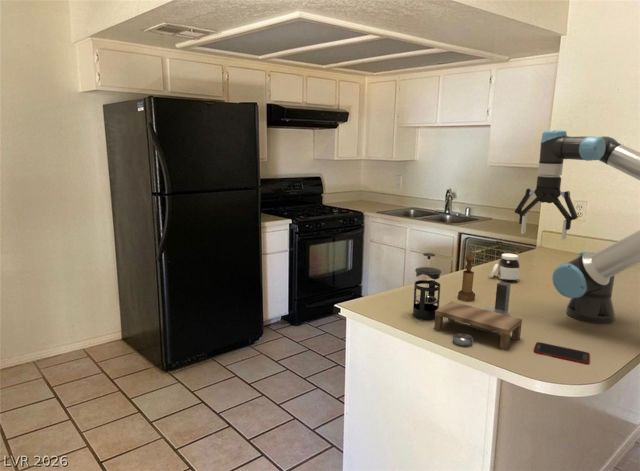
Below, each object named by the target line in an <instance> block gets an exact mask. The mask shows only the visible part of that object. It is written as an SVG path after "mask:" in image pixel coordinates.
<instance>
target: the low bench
mask: <svg viewBox="0 0 640 471" xmlns="http://www.w3.org/2000/svg"><path fill="white" fill-rule="evenodd" d="M484 309H485V308H479V307H476V306H472V305H468V304H464V303H460V302H457V301H453V300H452V301H449V302H447V303H446V304H444V305H442V306H441V307H439V309H437V310H435V320H434V324H433V327H434V328H433V329H434V330H437V331H441V330H443V326H444V325H443V324H444V318H446V319H447V321H449V322H455V321H456V322H460V323H462V324H463V323H464V324H467V325H469V326H470V325H474V326H478V327H481V328H485V329H488V330H492V331H495V332H496V333H499V334H500V344H499V349H501V350H504V351H508V350H509V348H510V341H511V340H510V338H511V339H513V340H517V341H519V340H520V339H521V333H522V324H523V323H522V322H523V319H522V318H519V317H516V316H512V315H510V316H508V315H504V314H500V313H496V312H492V311H488V310H484Z"/></svg>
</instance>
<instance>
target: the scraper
mask: <svg viewBox="0 0 640 471" xmlns="http://www.w3.org/2000/svg"><path fill="white" fill-rule="evenodd" d="M511 284H512V283H509V282H503V281H500V282H498V283H497V284H496V292H495V301H494V307H491V306H487V307H486V308H483V309H484V310H488V311H492V312H496V313H500V314H504V315H508V316H511V314H512V313H511V311H509V302H510V295H511V294H510V292H511ZM469 327H470V328H474V329H477V330H481V331H485V332H487V333H491V334H494V333H495V332H496V331H492V330H488V329H485V328H481V327H478V326H474V325H470V324H469Z"/></svg>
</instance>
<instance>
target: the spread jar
mask: <svg viewBox="0 0 640 471" xmlns="http://www.w3.org/2000/svg"><path fill="white" fill-rule="evenodd" d="M518 259H519V255H517V254H514V253H502V254H501V258H500V259H499V261H498V263H495V264H494V265H493V268H492V271H491V272H490V273H489V278H491V279H493V277H494V274H495V273H496V271H497V278H498V280H499V281H500V280H501V281H500V282H505V283H509V282H510V284H512V283H516V282H517V281H518V280H519V277H520V268H521V267H520V263H519V260H518Z"/></svg>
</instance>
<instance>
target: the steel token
mask: <svg viewBox="0 0 640 471" xmlns="http://www.w3.org/2000/svg"><path fill="white" fill-rule="evenodd" d="M473 343H474V337H473V336H472V335H469V334H466V333H455V334H453V335H452V344H454V346H457V347H462V348H470V347H472V346H473Z"/></svg>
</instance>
